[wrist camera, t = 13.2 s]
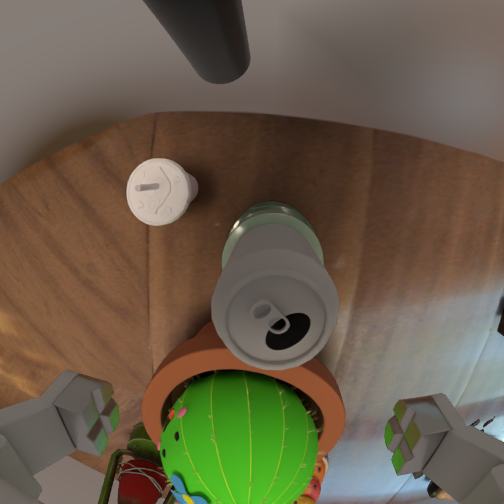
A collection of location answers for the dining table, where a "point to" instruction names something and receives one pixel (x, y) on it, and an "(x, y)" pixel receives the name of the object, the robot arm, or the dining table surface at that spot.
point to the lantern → (137, 472)
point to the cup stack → (270, 215)
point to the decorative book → (501, 325)
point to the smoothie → (160, 191)
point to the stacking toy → (314, 484)
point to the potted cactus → (239, 424)
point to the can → (274, 299)
